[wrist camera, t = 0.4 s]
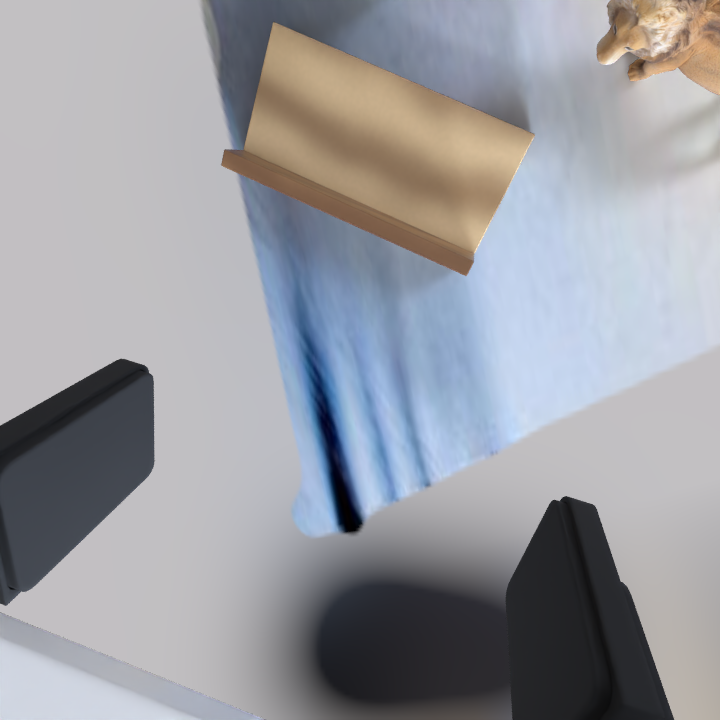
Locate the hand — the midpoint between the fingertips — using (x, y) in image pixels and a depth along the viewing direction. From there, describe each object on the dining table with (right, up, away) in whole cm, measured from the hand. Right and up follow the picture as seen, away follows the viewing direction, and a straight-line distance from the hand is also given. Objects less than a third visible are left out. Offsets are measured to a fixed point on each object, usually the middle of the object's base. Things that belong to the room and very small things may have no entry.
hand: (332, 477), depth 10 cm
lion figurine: (+21, +21, +19) cm, 36 cm away
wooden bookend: (+2, +19, +25) cm, 32 cm away
